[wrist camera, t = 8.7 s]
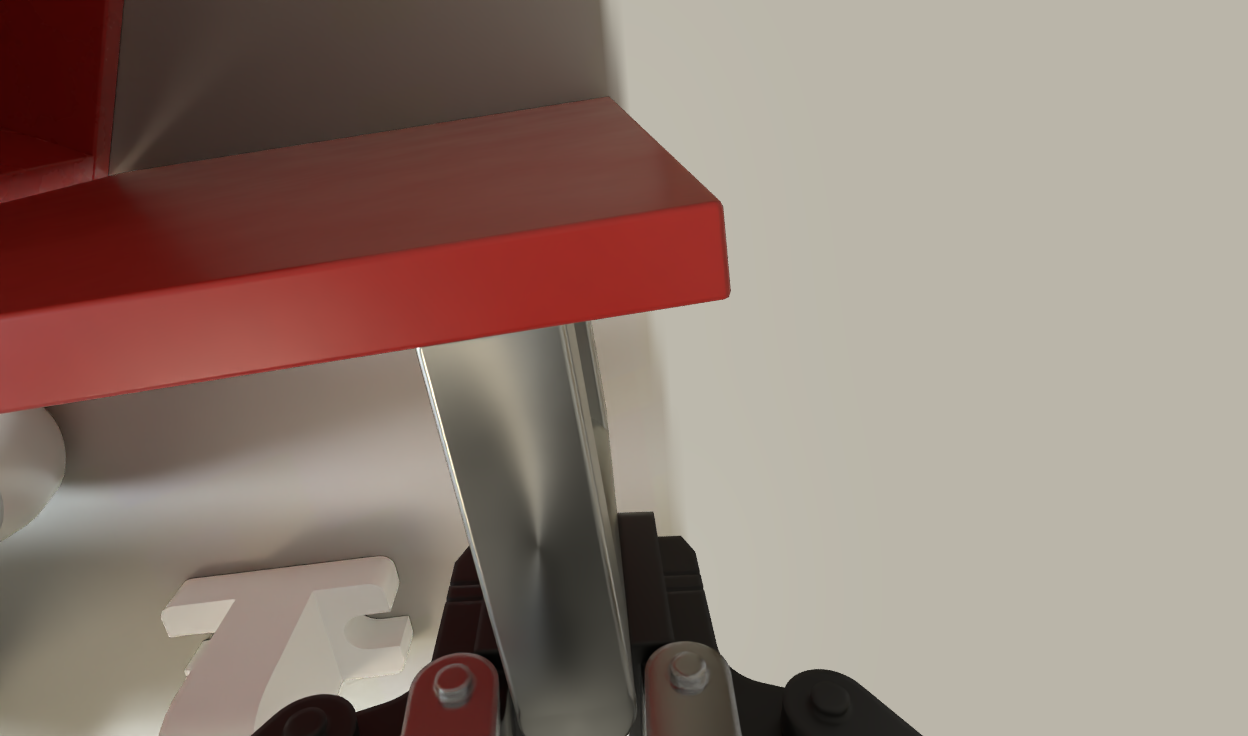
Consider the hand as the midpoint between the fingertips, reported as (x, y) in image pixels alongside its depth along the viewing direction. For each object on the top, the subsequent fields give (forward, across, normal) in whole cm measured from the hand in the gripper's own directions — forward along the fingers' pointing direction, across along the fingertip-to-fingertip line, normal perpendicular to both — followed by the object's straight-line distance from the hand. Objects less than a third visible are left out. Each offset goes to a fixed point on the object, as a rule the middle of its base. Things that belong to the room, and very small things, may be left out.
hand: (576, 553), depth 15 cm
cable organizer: (+17, +14, +15) cm, 26 cm away
